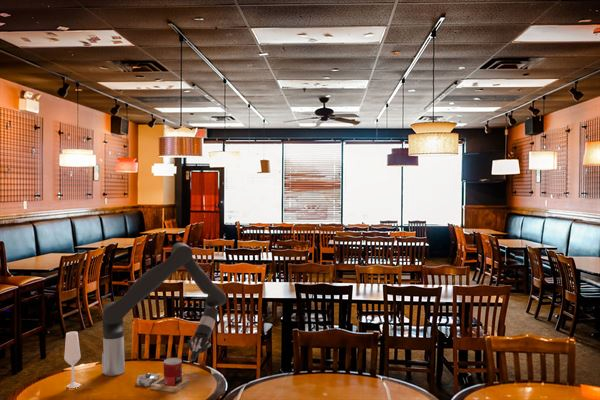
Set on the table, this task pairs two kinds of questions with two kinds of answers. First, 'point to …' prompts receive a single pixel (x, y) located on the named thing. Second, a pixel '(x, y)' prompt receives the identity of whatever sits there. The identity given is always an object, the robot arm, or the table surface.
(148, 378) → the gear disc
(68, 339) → the champagne flute
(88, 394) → the table surface
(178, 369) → the canned food
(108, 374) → the robot arm
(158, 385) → the cradle
